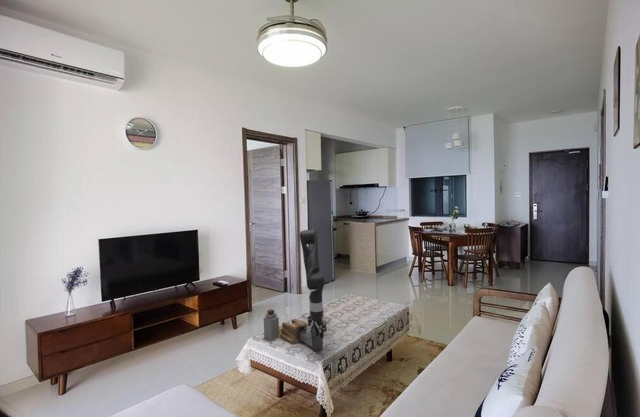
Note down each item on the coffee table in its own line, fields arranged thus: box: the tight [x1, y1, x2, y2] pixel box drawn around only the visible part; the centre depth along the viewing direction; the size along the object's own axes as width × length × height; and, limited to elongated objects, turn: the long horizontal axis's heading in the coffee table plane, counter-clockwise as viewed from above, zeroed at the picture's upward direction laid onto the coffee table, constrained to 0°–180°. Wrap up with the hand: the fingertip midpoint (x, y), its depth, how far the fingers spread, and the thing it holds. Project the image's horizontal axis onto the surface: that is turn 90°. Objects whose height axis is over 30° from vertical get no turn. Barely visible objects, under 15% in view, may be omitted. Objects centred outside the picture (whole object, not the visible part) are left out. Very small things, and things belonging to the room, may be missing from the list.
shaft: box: [297, 326, 324, 352], centre depth 217 cm, size 5×28×14 cm, turn 39°
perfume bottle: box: [263, 308, 280, 342], centre depth 227 cm, size 7×7×18 cm
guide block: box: [279, 318, 308, 345], centre depth 226 cm, size 14×14×10 cm
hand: (317, 335), depth 208 cm, fingers open, 8 cm apart
